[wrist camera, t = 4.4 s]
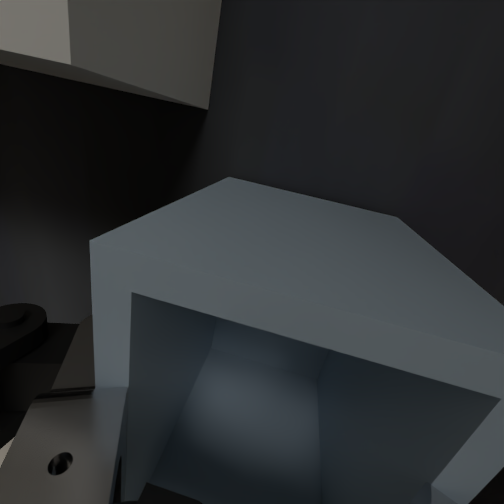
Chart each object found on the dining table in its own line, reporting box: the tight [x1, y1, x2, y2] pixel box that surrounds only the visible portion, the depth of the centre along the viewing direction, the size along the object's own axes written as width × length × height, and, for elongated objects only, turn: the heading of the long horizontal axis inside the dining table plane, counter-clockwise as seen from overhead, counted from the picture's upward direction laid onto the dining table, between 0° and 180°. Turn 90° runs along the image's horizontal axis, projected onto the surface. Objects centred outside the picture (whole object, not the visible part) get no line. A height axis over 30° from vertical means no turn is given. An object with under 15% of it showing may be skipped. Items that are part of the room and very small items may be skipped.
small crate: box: [90, 177, 504, 504], centre depth 8 cm, size 6×8×7 cm
